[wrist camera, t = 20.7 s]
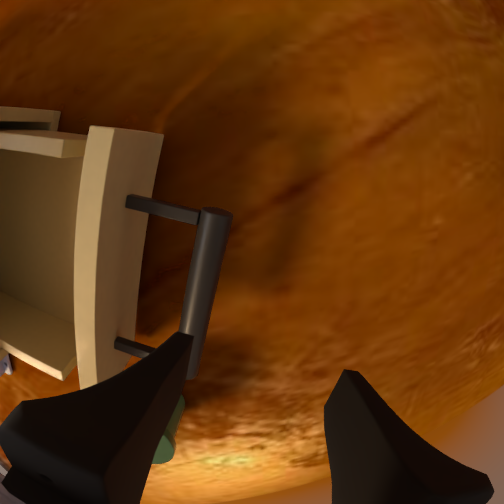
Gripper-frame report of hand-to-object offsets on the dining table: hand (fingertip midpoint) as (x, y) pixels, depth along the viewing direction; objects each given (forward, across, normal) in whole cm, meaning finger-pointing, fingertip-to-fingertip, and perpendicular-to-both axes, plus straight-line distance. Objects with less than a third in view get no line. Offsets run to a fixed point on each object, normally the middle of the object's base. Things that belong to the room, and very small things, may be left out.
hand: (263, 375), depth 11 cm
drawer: (+8, +12, 0) cm, 14 cm away
